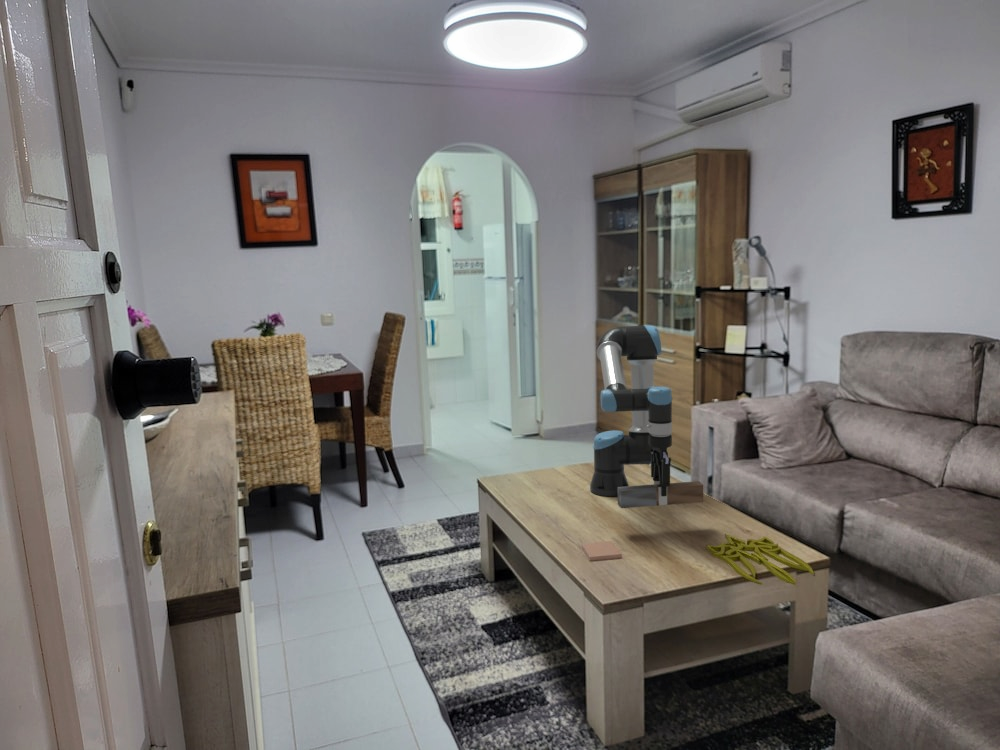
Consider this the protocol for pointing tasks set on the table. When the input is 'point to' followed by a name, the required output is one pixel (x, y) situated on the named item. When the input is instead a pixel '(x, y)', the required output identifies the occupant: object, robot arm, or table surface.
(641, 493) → the brown and grey bar
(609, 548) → the tile
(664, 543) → the table surface
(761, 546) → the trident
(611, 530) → the table surface
